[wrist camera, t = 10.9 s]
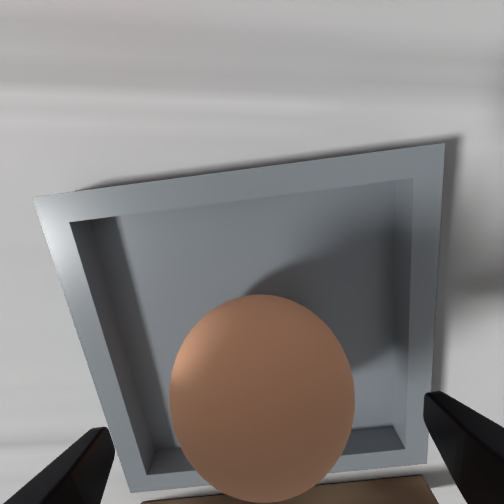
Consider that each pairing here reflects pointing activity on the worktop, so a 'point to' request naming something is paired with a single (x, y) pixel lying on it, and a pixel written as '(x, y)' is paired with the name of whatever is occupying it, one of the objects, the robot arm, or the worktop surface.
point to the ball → (262, 398)
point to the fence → (341, 494)
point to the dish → (257, 288)
